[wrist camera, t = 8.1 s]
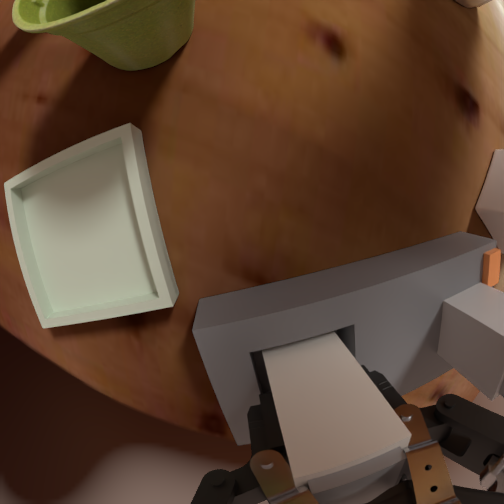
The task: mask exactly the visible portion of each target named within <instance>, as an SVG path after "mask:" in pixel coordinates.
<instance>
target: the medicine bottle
mask: <svg viewBox="0 0 504 504" xmlns="http://www.w3.org/2000/svg"><path fill="white" fill-rule="evenodd" d="M475 210H476V212H477V213H478V215H479V216H480V218H481V220H482V221H483V223H484V224H485V226H486V228H487V229H488V231H489V233H490V234H491V236H492V238H493V239H494V240H497V244H496V245H497V247H498V248H499V249H501V253H502V254H504V149H499V150H495V151H494V154H493V158H492V161H491V164H490V168H489V171H488V174H487V177H486V180H485V183H484V186H483V188H482V191H481V194H480V196H479V199H478V202H477V204H476V207H475Z"/></svg>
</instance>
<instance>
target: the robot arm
mask: <svg viewBox="0 0 504 504" xmlns="http://www.w3.org/2000/svg"><path fill="white" fill-rule="evenodd" d="M455 1H456V2H458V3H459V4H461V5H463V6H465V7H468V8H473V7H474V6H476V7H480V6H482V5H484V4H486V3H488V2H490V1H492V0H455ZM361 367H362V368H363V370H364V371H365V372H366V374H367V375H368V376H369V378H370V379H371V380H372V382H373V383H374V384H375V386H376V387H377V388H378V390H379V391H380V392H381V394H382V395H383V396H384V398H385V399H386V400H387V402H388V403H389V404H390V406H391V407H392V408H393V410H394V411H395V413H396V414H397V415H398V417H399V418H400V419H401V421H402V422H403V423H404V425H405V426H406V428H407V429H408V430H409V432H410V433H411V434H412V435H411V438H410V441H409V444H408V446H407V447H405V448H403V449H402V450H403V452H404V453H405V457H406V459H405V461H404V464H403V467H402V469H401V471H400V474H399V476H398V478H397V481H396V483H395V485H394V486H393V487H391V488H389V489H387V490H386V491H385V492H383V493H382V494H380V495H379V496H378V497H376V498H375V499H373V500H372V501H370V502H368V503H364V504H504V417H503V416H501V415H498V414H496V413H494V412H491V411H489V410H487V409H485V408H483V407H481V406H479V405H476V404H474V403H472V402H470V401H468V400H466V399H463V398H461V397H459V396H457V395H454V394H446V395H444V396H442V397H440V398H439V399H438V401H437V403H436V405H432V406H428V407H424V408H418V407H417V406H415V405H413V404H407V403H406V402H405V401H404V399H403V398H402V397H401V396H400V394H399V393H398V392H397V391H396V390H395V388H394V387H393V386H392V385H391V383H390V382H388V380H387V379H386V377H385V376H384V375H383V374H381V373H379V372H377V371H375V370H374V371H372V372H369V371H368V369H367V368H366V367H365V366H364V365H361ZM259 399H260V404H259V405H254V406H250V408H249V411H248V413H247V418H248V426H249V434H250V442H251V450H252V456H251V459H250V461H249V462H248V463H247V464H246V465H244V466H243V467H241V468H239V469H236V470H234V471H231V472H229V471H226V470H222V469H220V470H218V469H217V470H213V471H210V472H209V473H207V474H206V475H205V476H204V477H203V479H202V481H201V483H200V485H199V487H198V489H197V491H196V494H195V496H194V498H193V500H192V502H191V504H258V503H260V502H262V501H265V500H267V501H268V503H269V504H319V503H318V501H317V500H316V499H315V497H314V496H313V495H312V493H311V492H310V491H309V490H308V488H307V487H305V486H299V487H296V486H295V482H294V479H293V475H292V471H291V467H290V463H289V459H288V455H287V451H286V447H285V443H284V439H283V435H282V431H281V427H280V423H279V419H278V415H277V411H276V407H275V403H274V399H273V395H272V392H268V393H263V394H259ZM443 455H444V456H446V457H448V458H450V459H451V460H453V461H455V462H456V463H458V464H460V465H462V466H463V467H465V468H467V469H469V470H471V471H473V472H474V473H476V474H478V475H480V478H479V479H480V485H481V486H482V487H486V489H487V491H484V490H477V489H471V488H464V487H460V486H455V485H452V482H451V479H450V475H449V472H448V469H447V466H446V463H445V460H444V457H443Z"/></svg>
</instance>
